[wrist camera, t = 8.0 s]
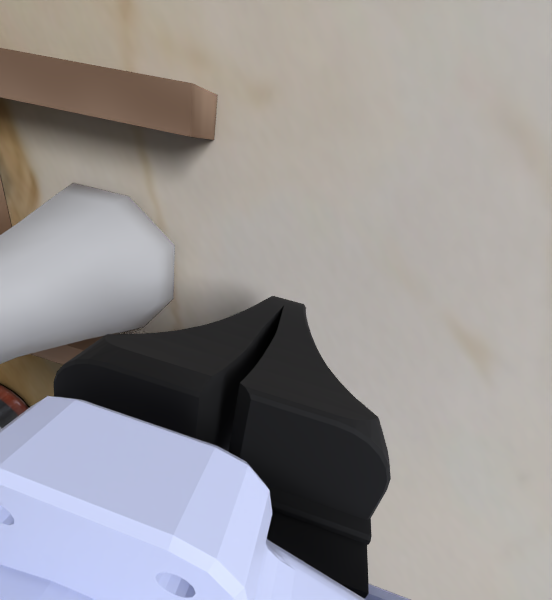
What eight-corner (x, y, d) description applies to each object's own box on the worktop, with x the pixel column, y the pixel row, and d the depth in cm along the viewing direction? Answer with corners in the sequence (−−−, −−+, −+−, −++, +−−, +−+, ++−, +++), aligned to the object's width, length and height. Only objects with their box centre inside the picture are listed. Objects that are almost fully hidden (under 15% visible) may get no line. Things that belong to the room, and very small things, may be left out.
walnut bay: (195, 390, 18) (178, 415, 16) (17, 333, 20) (-16, 351, 18) (219, 62, 11) (194, 43, 9) (-67, 12, 12) (-136, -12, 11)
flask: (45, 277, 17) (-280, 404, 8) (64, 153, 14) (-456, 144, 5) (156, 343, 17) (-48, 535, 9) (201, 237, 14) (-61, 374, 5)
